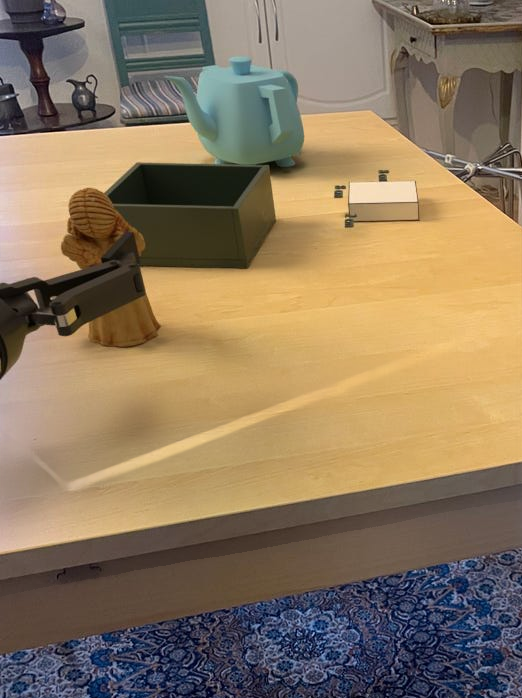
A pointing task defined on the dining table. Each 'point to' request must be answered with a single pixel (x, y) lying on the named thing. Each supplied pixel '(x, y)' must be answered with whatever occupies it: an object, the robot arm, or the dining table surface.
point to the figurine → (87, 249)
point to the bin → (196, 212)
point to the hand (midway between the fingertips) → (59, 245)
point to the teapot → (245, 113)
